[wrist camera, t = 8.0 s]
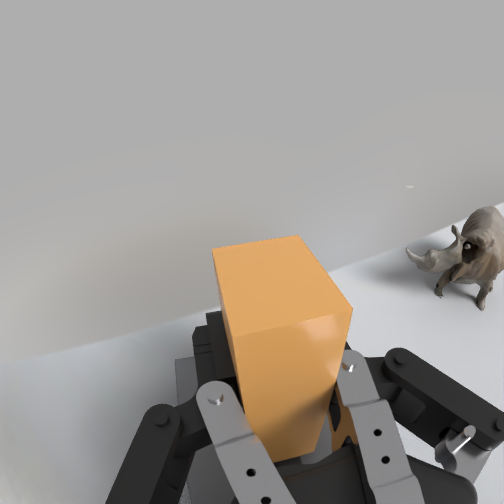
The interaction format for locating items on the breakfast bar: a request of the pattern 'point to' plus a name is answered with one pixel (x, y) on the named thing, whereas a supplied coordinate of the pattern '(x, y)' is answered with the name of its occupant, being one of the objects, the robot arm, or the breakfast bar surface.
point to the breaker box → (206, 459)
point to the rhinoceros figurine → (469, 254)
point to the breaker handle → (282, 338)
